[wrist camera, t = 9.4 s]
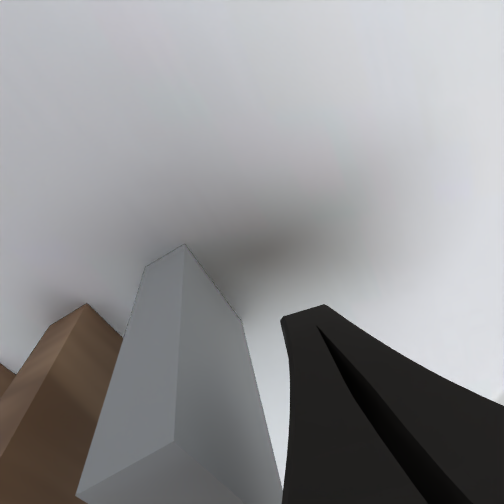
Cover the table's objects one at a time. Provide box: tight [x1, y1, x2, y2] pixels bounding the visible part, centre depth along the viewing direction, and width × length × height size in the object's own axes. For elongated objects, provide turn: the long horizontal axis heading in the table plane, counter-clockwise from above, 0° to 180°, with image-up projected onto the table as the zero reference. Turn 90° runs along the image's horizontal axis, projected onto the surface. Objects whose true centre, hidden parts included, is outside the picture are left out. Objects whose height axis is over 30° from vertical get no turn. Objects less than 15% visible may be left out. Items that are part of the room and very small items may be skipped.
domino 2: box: [75, 244, 283, 504], centre depth 10 cm, size 2×5×9 cm, turn 29°
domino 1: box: [0, 303, 123, 504], centre depth 11 cm, size 2×5×9 cm, turn 30°
